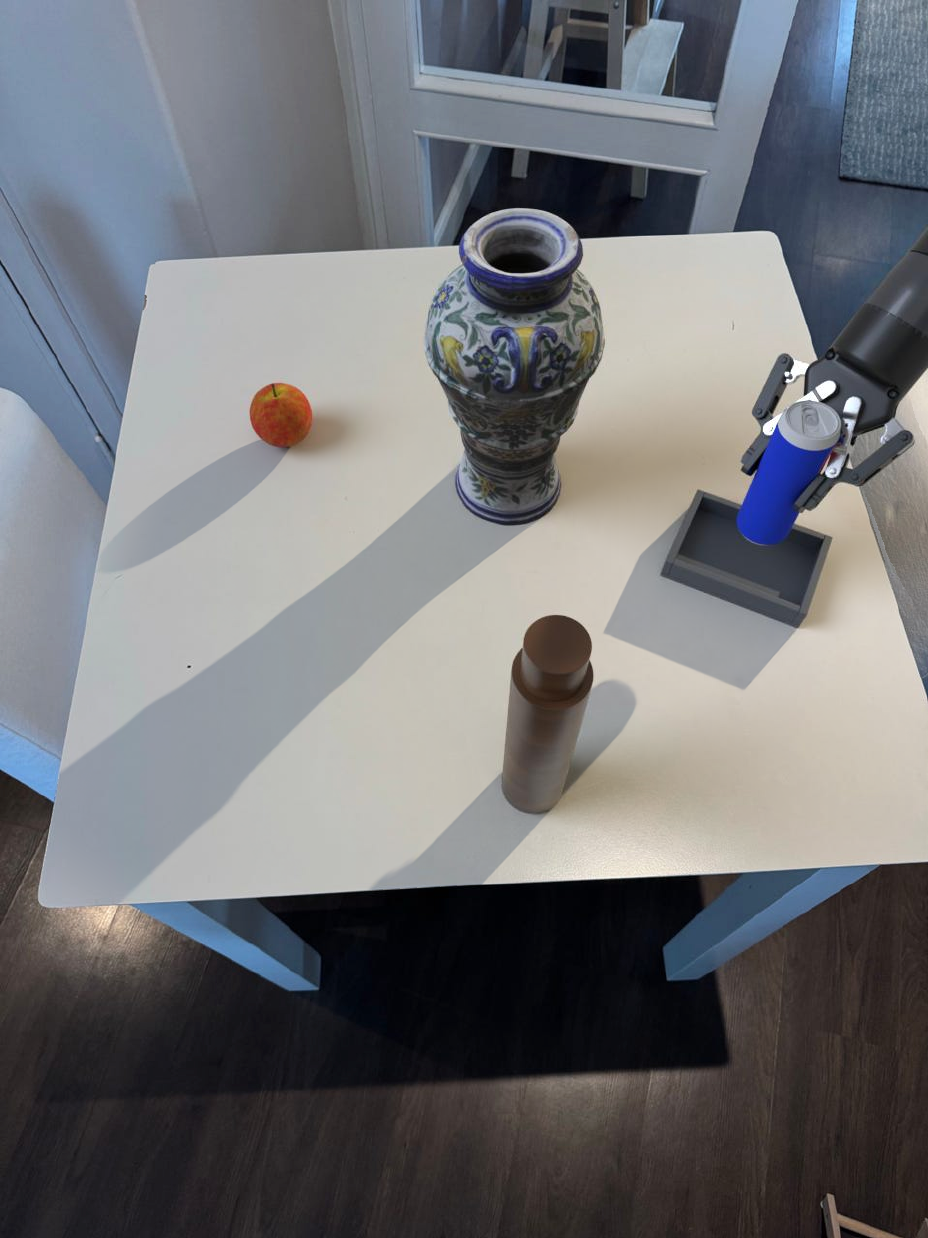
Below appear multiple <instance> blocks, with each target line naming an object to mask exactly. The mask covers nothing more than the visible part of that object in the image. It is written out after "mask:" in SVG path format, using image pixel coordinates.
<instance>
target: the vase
mask: <svg viewBox="0 0 928 1238" xmlns="http://www.w3.org/2000/svg"><path fill="white" fill-rule="evenodd" d="M458 256H459V258H460V261H461V264H460V265H459V266H457V267H456V268H455V269H454V270H452V271H451V272H450V273H449V274H448V276H446V278H444V280H443V281H442V282H441V283H440V284H439V286H438V287H437V289H436V291H435V292H434V295H433V297H432V298H431V301H430V302H431V303H430V305H429V309H428V314H427V319H426V323H425V325H424V331H423V332H424V334H423V349H424V350H423V351H424V355H425V358H426V361H427V364H428V366H429V368H430V370H431V371H432V374H433V375H434V376H435V378H437V380H438V382H439V384H440V386H441V388H442V390H443V393H444V395H445V397H446V400H447V406H448V410H449V413H450V415H451V417H452V419H453V420H454V422H455V424H456V425H457V427H458V428H459V429H460V430H459V431H460V432H459V433H460V438H461V442H462V445H463V447H464V449H463V450H464V451H463V454H462V457H461V460H460V463H459V466H458V467H457V470H456V472H455V488H456V489H455V490H456V493H457V496H458V498H459V500H460V502H461V504H462V505H463V506H464V507H465V508H466V510H468V511H469V512H470V513H471V514H473V515H474V516H476V517H478V518H479V519H482V520H484V521H487V522H490V523H494V524H497V525H500V526H501V525H502V526H520V525H526V524H528V523H531V522H533V521H536V520H539V519H540V518H543V517H544V516H546V515H547V514H548V513H549V512H551V511H552V509H553V508H554V506H556V505H557V502H558V500H559V498H560V495H561V489H562V478H561V474H560V471H559V468H558V464H557V461H556V457H555V453H556V452H557V449H558V447H559V446H560V442H561V437H562V436H563V435H564V434H565V433H567V431H568V430H569V429H570V428H571V427H572V425H573V424H574V422H575V420H576V418H577V415H578V412H579V407H580V401H581V399H582V396H583V394H584V391H585V389H586V386H587V384H588V383H589V380H590V379H591V378H592V377H593V375H594V374H595V373H596V371H597V369H598V367H599V365H600V364H601V361H602V358H603V355H604V349H605V345H606V339H605V327H604V324H603V317H602V309H601V305H600V301H599V299H598V297H597V294H596V291H595V290H594V287H593V286H592V283H590V281H589V280H588V278H586V275H584V273H582V272H581V271H580V270H579V269H578V268H579V267H580V265H582V261H583V257H584V248H583V243H582V241H581V238H580V236H579V235H578V233H577V232H576V230H575V229H574V227H573V226H571V224H569V223H568V222H567V221H565V220H564V219H563V218H561V217H559V216H558V215H556V214H554V213H551V212H548V211H545V210H541V209H535V208H522V207H521V208H520V207H515V208H506V209H501V210H498V211H494V212H491V213H488V214H486V215H485V216H483V217H481V218H479V219H478V220H476V221H475V222H474V223H472V225H470V226H469V227H468V228H467V230H466V231H465V232H464V234H463V235H462V237H461V239H460V242H459V244H458Z"/></svg>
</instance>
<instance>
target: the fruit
mask: <svg viewBox="0 0 928 1238" xmlns="http://www.w3.org/2000/svg"><path fill="white" fill-rule="evenodd" d="M249 420H250V424H251V426H252V429H253V430H254V433H255V434H256V435H257V436H258V437H259V438H260V439H261V440H262V441H263V442H265V443H266V444H268V445H269V446H273V447H277V448H287V447H294V446H296V445H298V444H299V443H301V442H302V441H303V440H304V439H305V438H306V437H307V436H308V434H309V433H310V430H311V428H312V425H313V410H312V406H311V404H310V401H309V399H308V398H307V396H306V395H305V393H304V392H303V391H301V390H300V389H299V388H298V387H296V386H294V385H292V384H289V383H284V382H273V383H272V382H271V383H269V384H267V385H265V386H264V387H262V388H260V390H258V391H257V392H256V393H255V394H254V396H253V398H252V400H251V402H250V406H249Z"/></svg>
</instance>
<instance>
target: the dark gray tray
mask: <svg viewBox="0 0 928 1238" xmlns="http://www.w3.org/2000/svg"><path fill="white" fill-rule="evenodd" d="M741 506H742V504H741V503H739V502H736V501H732V500H729V499H726V498H724V497H722V496H718V495H716V494H713V493H709V492H707V491H704V490H702V489H699V488H698V489H697V490H696V492H695V495H694V496H693V498H692V501H691V503H690V505H689V507H688V509H687V512H686V513H685V516H684V518H683V520H682V523H681V524H680V526H679V529H678V531H677V534H676V536H675V538H674V540H673V543H672V545H671V547H670V549H669V551H668V554H667V556H666V558H665V559H664V562H663V566H662V568H661V571H660V577H663V578H666V579H669V580H671V581H674V582H676V583H679V584H680V585H681V584H682V585H684V586H687V587H690V588H692V589H695V590H697V591H700V592H703V593H705V594H707V595H710V596H713V597H715V598H718V599H720V600H723V601H726V602H728V603H730V604H734V605H736V606H739V607H741V608H744V609H747V610H749V611H752V612H754V613H757V614H759V615H763V616H765V617H767V618H770V619H773V620H775V621H778V622H781V623H783V624H786V625H789V626H791V627H793V628H796V629H799V628H800V626H801V625H802V623H803V622H804V620H805V619H806V617H807V615H808V613H809V610H810V607H811V604H812V601H813V598H814V595H815V592H816V590H817V586H818V583H819V581H820V577H821V574H822V571H823V569H824V565H825V562H826V559H827V557H828V553H829V550H830V547H831V544H832V542H833V539H834V538H833V536H831V535H828V534H825V533H822V532H821V531H816V530H814V529H811V528H808V527H805V526H803V525H800V524H797V523H794V524H793V526H792V528H791V530H790V532H789V534H788V536H787V537H786V538H785V539H784V540H783V541H781V542H780V543H777V544H773V545H758V544H755V543H752V542H750V541H749V540H747V539H746V538H745V537H744V536H743V535H742V534H741V532H740V531H739V529H738V527H737V522H736V520H737V515H738V513H739V510H740V508H741Z"/></svg>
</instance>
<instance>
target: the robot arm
mask: <svg viewBox="0 0 928 1238" xmlns="http://www.w3.org/2000/svg"><path fill="white" fill-rule="evenodd" d="M927 370H928V224H927V225H926V227H925V228H924V229H923V231H921V233H919V235H918V237H917V238H916V239H915V240H914V242H913V243H912V244H911V246H910V247H909V248H908V249H907V252H906V253H905V254H904V255H903V256H902V257H901V259H899V261H897V263H896V264H894V265H893V266H892V268H890V269H889V270H888V272H887V273H886V274H885V275H884V276H883V277H882V278H881V279H880V281H879V283H878V284H877V285H876V286H875V288H874V289H873V290H872V292H871V293H870V294H869V295H868V296H867V298H866V299H865V300H864V302H863V304H862V305H861V306H860V307H859V309H858V310H857V311H856V312H855V314H854V315H853V316H852V318H851V319H850V321H849V322H848V323H847V324H846V325H845V326H844V328H843V329H842V331H841V332H840V333H839V335H838V336H837V337H836V339H835V340H834V341H833V342H832V344H831V345H830V346H829V347H828V349H827V350H826V352H825V353H824V354H823V355H822V356H821V357H820V358H818V359H816V360H814V361H812V362H811V363H810V364H809V363H806V362H804V361H801V360H798V359H795V358H792V356H791V355H790V354H789V353H786V352H784V353H781V354H780V355H778V356H777V358H776V360H775V362H774V364H773V367H772V369H771V371H770V372H769V375H768V376H767V379H766V381H765V383H764V385H763V386H762V389H761V390H760V393H759V395H758V397H757V399H756V401H755V404H754V405H753V407H752V410H751V415H752V417H753V418H754V419H755V420H756V421H757V423H758V425H759V426H760V432H759V434H758V435H757V436H756V437H755V439H754V440H753V442H752V443H751V444H750V445H749V447H748V448H747V450H746V451H745V452H744V453H743V455H742V456H741V459H740V463H741V464H743V465H742V467H741V468H740V472H742V473H743V474H745V475H747V476H748V477H752V476H753V475H755V473H756V471H757V468H758V466H759V464H760V461H761V459H762V457H763V454H764V452H765V450H766V447H767V445H768V443H769V440H770V438H771V436H772V433H773V431H774V429H775V426H776V424H777V422H778V419H779V417H780V416H781V414H782V413H783V412H784V411H785V410H786V409H787V408H788V407H789V406H788V407H786V408H785V409H784V410H783V411H782V412H781V413H780V414H778V415H776V416H774V413H775V411H776V409H777V407H778V405H779V403H780V401H781V399H782V398H783V397H782V396H783V395H784V393H785V391H786V389H787V386H788V385H794V384H795V383H797V381H798V379H800V378H802V377H804V380H803V395H802V397H800V399H798V400H796V402H798V401H803V400H813V401H818V402H821V403H824V404H826V405H828V406H830V407H831V408H832V409H834V410H835V411H836V413H837V414H838V415H839V417H840V420H841V429H840V437H839V439H838V441H837V443H836V445H835V447H834V449H833V451H832V453H831V454H830V456H829V458H828V460H827V463H826V467H825V470H824V471H822V472H821V473H819V474H818V475H817V476H816V477H815V479H814V480H813V481H812V482H811V483H810V485H809V486H808V487H807V488H806V490H805V491H804V492H803V493H802V494H801V496H800V497H799V498H798V499H797V501H796V502H795V503H794V504H793V506H792V508H793V509H795V510H796V511H797V512H799V514H802V513H804V512H805V511H806V510H807V511H809V512H811V511H813V510H815V509H817V507H818V506H819V505H820V503H821V502H822V501H823V500H824V499H825V498H826V496H827V495H828V494H829V493H830V491H831V490H832V489H833V488H834V487H835V486H836V485H837V484H840V483H841V484H842V483H844V484H847V485H851V486H854V487H857V488H859V487H860V488H861V487H863V486H864V485H865V484H867V483H868V482H869V481H870V480H872V479H873V478H874V477H876V476H877V475H878V474H879V473H881V472H882V471H883V470H884V469H886V468H887V467H888V466H889V465H890V464H891V463H893V462H894V461H896V460H897V459H898V458H899V457H901V456H902V455H903V454H904V453H906V452H907V451H908V450H910V449H911V448H912V447H913V446H914V445H915V442H916V439H915V436H914V434H913V433H912V432H911V431H910V430H907V429H906V428H904V427H903V425H902V424H901V423H900V422H899V421H898V420H897V419H896V415H897V409H898V407H899V405H900V403H901V402H902V400H903V399H904V398H905V397H906V395H907V394H908V393H910V390H911V389H912V388H913V387H914V386H915V385H916V383H917V382H918V381H919V380H920V378H921V377H922V376H923V375H924V373H926V372H927ZM884 427H885V430H884V431H885V432H884V433H883V434H882V435H881V437H880V445H881V446H880V447H879V448H878V449H877V450H875V451H874V452H873V453H872V454H870V455H869V456H868V457H866V458H865V459H864V460H863V461H862V462H861V463H859V464H858V465H857V466H856V467H854V468H851V467H848V465H849V464H850V463H849V462H850V460H851V457H852V456H853V454H854V452H855V448H856V445H857V442H858V439H859V436H861V435H864V434H867V433H871V432H873V431H875V430H879V429H881V428H884Z"/></svg>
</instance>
